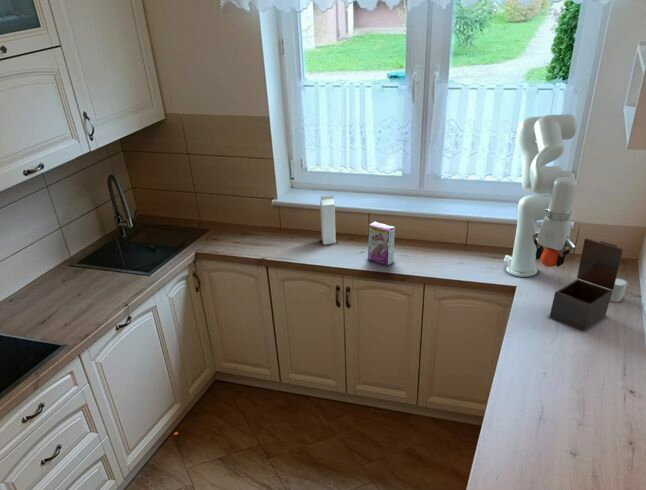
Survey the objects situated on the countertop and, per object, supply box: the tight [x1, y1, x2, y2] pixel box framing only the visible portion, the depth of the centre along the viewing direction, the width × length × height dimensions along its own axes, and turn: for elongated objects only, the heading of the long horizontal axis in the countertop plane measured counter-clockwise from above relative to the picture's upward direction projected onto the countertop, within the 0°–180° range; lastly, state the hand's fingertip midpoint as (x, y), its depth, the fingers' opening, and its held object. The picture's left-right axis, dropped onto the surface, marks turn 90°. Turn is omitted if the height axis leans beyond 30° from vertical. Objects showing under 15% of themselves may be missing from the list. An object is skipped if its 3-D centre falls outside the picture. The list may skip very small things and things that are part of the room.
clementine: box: [540, 246, 560, 268], centre depth 216 cm, size 8×7×7 cm
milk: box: [319, 195, 337, 245], centre depth 279 cm, size 6×6×22 cm
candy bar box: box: [367, 221, 396, 266], centre depth 260 cm, size 11×5×16 cm, turn 48°
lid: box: [576, 238, 624, 290], centre depth 212 cm, size 16×14×5 cm
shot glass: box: [606, 277, 629, 303], centre depth 227 cm, size 7×7×7 cm
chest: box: [549, 278, 612, 332], centre depth 216 cm, size 15×14×10 cm
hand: (548, 261), depth 217 cm, fingers closed on clementine, 8 cm apart
